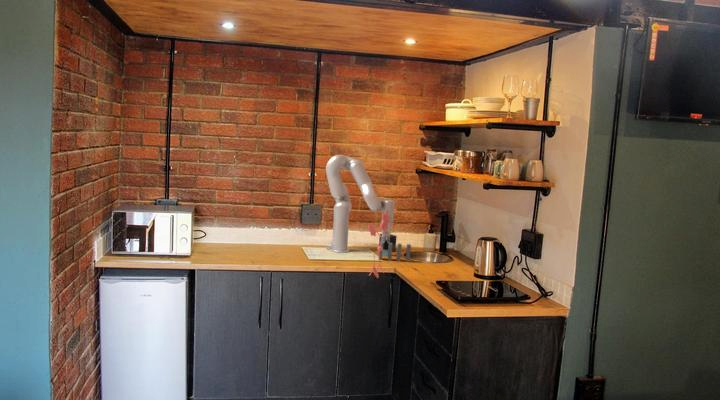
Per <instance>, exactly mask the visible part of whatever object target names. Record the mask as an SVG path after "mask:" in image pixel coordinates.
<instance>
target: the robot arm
mask: <svg viewBox="0 0 720 400" xmlns="http://www.w3.org/2000/svg"><path fill="white" fill-rule="evenodd" d="M341 169H342V170H345V171H348V172H350V174H351V176H352V177H353V179H354V180H355V183H356V185H357V186H358V188H359V191H360V193H361V195H362V197H363V199H364V201H365V203H366V204H367V206H368V208H369V210H371V211H372V212H378V211H381V217H380V218H381V221H380V222H381V223H382V220H383V214H385V213H386V211H387V210H388V215H390V217H389V222H390V223H388V230H385V234H383V229H382V230H381V234H382V238H384V243H383V249H386V250H388V244H389V243H388V239H389V238H390V234H391V232H392V226H391V225H392V224H393V223H394V219H395V218H394V217H395V206H396V205H395V204H396V202H395V200H393V199H389V198H388V199H383V198H379V197H378V196H377V194H376V192H375V191H374V190H375V189H374V187H373V182H372V180H371V178H370V176H369V174H368V173H367V170H366V169H365V164H364V162H363V161H362V160H359V159H356V158H353V157H351V156H349V155H348V156H347V155H345V154H335V155H333V156H332V157H330V158H329V160H328V161H327V163H326V166H325V174H326V178H327V182H328V187H329V190H330V194H331V197H333V199H334V201H335V204H334V206H333V226H332V227H333V229H332V241H331V242H330V243H325V244H324V247H326V248H329V250H328V251H330V252H334V253H340V254H341V253H349V252H350V249H349V248H348V245H349V244H348V243H349V242H348V240H349V225H350V224H349V223H350V222H349V221H350V212H351V211H352V209H353V208H352V207H353V205H352V201H351V197H350V193H349V189H348V187H347V185H346V184H345V183H343V180H342V176H341V171H340V170H341ZM390 224H391V225H390Z"/></svg>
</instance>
